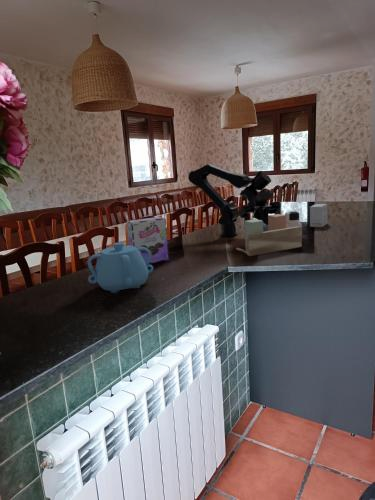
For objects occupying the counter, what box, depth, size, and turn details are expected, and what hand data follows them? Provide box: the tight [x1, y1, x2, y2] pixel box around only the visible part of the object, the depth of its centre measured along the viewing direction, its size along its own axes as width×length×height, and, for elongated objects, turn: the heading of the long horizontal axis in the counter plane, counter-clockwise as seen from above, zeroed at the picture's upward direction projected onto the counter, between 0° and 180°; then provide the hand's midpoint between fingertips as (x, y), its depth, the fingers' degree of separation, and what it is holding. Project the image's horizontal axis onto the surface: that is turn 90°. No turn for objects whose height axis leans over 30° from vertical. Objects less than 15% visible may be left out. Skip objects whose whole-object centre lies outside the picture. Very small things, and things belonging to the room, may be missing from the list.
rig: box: [235, 226, 303, 257], centre depth 140 cm, size 12×24×8 cm, turn 112°
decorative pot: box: [87, 241, 154, 294], centre depth 106 cm, size 16×16×14 cm
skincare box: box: [309, 203, 328, 228], centre depth 180 cm, size 10×6×10 cm, turn 145°
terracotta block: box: [267, 213, 286, 231], centre depth 145 cm, size 5×5×12 cm
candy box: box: [126, 216, 170, 265], centre depth 131 cm, size 14×6×16 cm, turn 117°
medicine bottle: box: [284, 210, 303, 228], centre depth 153 cm, size 7×7×12 cm
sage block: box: [244, 218, 264, 251], centre depth 136 cm, size 5×5×12 cm
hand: (268, 224), depth 150 cm, fingers closed
